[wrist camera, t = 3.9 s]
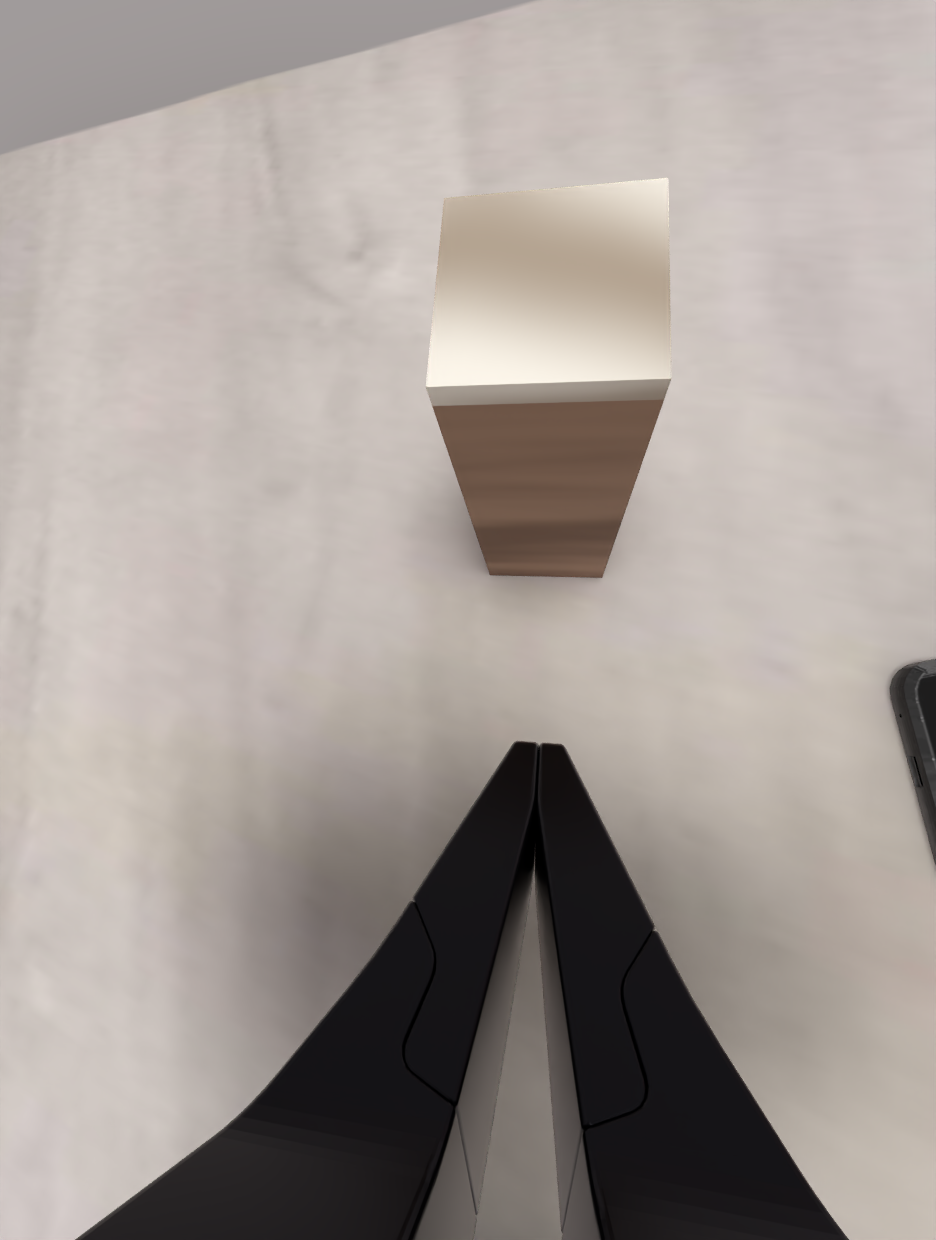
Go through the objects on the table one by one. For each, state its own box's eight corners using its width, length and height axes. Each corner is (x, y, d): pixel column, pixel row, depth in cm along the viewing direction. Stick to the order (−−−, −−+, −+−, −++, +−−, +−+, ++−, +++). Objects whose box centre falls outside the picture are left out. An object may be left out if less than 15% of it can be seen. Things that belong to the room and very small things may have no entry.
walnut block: (602, 577, 21) (671, 378, 9) (490, 575, 22) (425, 386, 10) (603, 474, 22) (668, 177, 10) (496, 475, 23) (444, 198, 11)
